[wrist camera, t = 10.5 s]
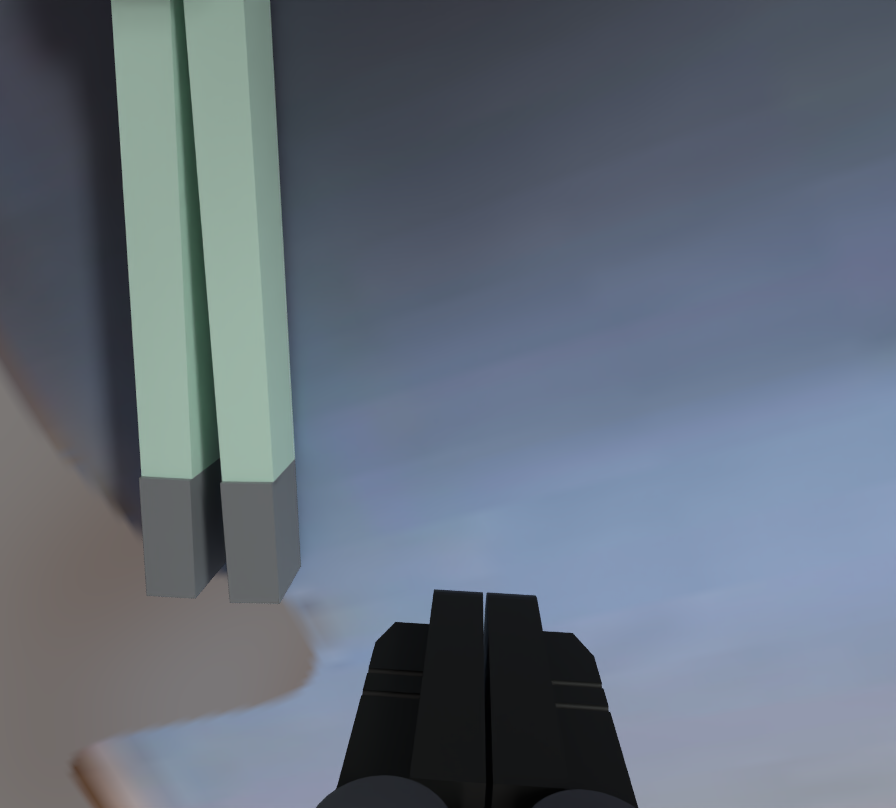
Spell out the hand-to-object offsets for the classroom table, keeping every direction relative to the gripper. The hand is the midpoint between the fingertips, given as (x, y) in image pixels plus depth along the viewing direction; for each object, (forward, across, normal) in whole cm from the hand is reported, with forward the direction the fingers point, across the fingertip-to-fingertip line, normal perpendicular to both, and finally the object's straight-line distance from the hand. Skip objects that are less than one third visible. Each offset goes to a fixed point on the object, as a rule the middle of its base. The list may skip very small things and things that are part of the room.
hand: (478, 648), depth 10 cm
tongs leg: (+18, +12, -5) cm, 22 cm away
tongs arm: (+18, +11, -6) cm, 21 cm away
